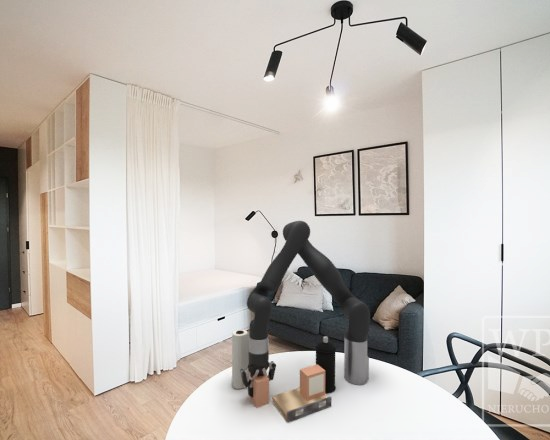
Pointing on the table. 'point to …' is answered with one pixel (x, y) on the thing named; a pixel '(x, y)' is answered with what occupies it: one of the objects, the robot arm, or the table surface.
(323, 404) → the tan flat block
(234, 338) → the paper towel roll
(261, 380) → the carton
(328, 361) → the aerosol can
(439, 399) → the table surface
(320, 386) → the carton faced
